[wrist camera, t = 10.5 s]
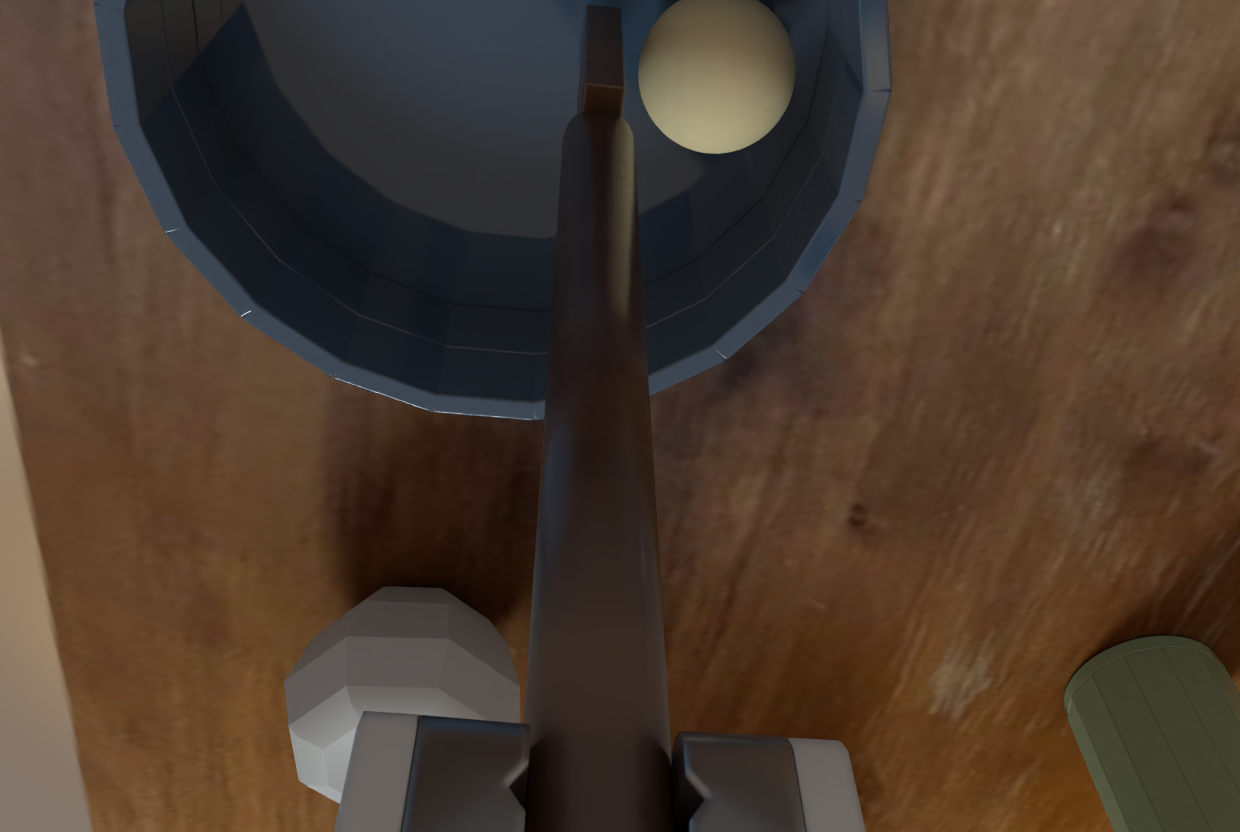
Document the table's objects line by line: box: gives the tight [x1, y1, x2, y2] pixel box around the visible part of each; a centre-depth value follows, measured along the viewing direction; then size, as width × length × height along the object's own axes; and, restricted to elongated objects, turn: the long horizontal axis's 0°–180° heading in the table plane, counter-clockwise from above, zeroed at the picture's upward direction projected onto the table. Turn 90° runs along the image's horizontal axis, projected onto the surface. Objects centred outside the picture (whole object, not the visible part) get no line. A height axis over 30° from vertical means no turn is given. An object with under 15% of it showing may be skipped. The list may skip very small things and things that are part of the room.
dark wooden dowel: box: [524, 4, 676, 832], centre depth 17 cm, size 2×1×24 cm, turn 174°
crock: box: [1064, 635, 1240, 832], centre depth 38 cm, size 6×6×12 cm
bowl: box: [93, 0, 892, 420], centre depth 26 cm, size 16×16×5 cm
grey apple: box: [284, 586, 520, 804], centre depth 37 cm, size 8×8×7 cm
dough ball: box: [638, 0, 796, 154], centre depth 26 cm, size 4×4×4 cm
